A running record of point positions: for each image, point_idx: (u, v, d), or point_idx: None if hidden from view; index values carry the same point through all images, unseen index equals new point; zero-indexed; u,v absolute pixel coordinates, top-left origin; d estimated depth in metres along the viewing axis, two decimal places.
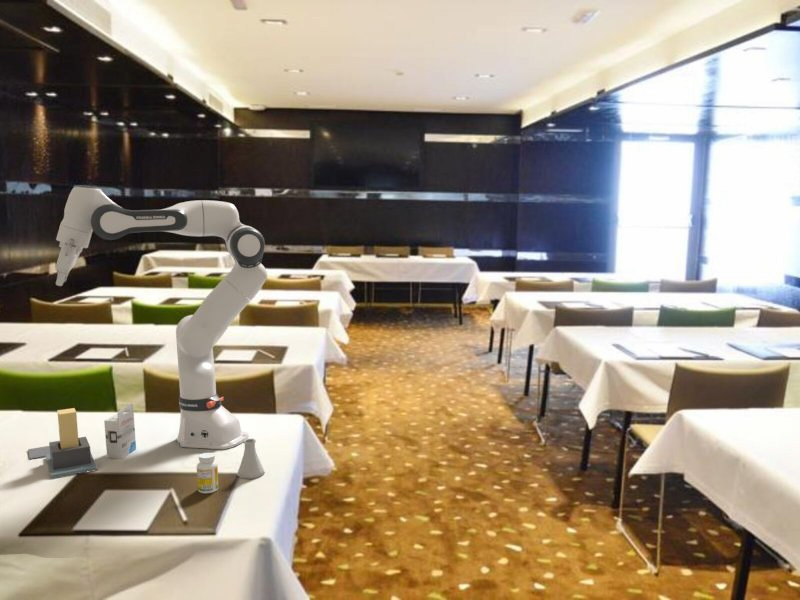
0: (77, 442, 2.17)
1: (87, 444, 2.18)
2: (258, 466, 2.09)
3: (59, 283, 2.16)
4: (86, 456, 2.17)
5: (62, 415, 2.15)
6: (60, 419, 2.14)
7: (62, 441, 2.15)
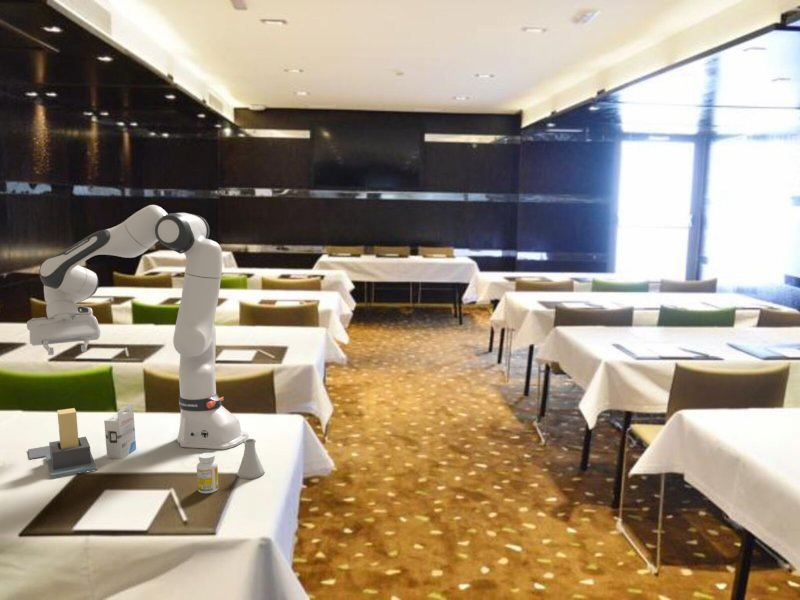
0: (77, 442, 2.17)
1: (87, 444, 2.18)
2: (258, 466, 2.09)
3: (48, 352, 2.29)
4: (86, 456, 2.17)
5: (62, 415, 2.15)
6: (60, 419, 2.14)
7: (62, 441, 2.15)
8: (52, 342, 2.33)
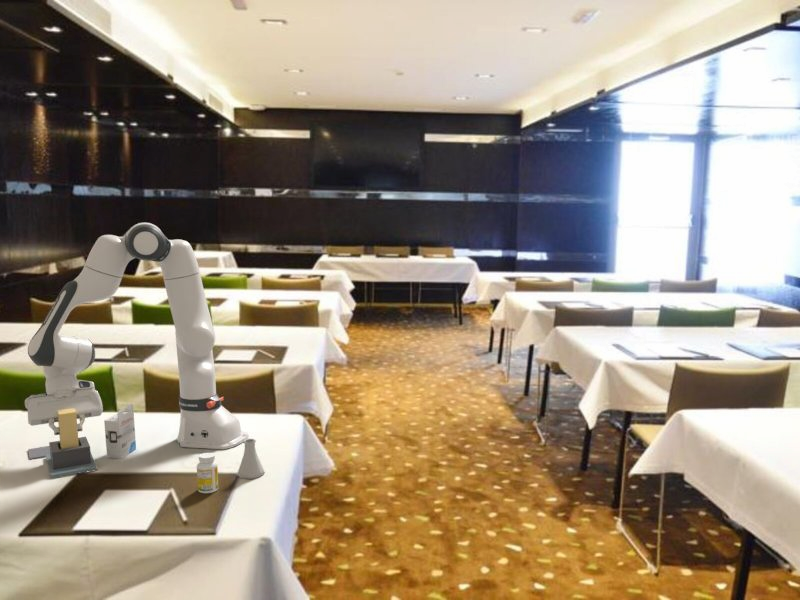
0: (77, 442, 2.17)
1: (87, 444, 2.18)
2: (258, 466, 2.09)
3: (54, 432, 2.16)
4: (86, 456, 2.17)
5: (62, 415, 2.15)
6: (60, 419, 2.14)
7: (62, 441, 2.15)
8: None
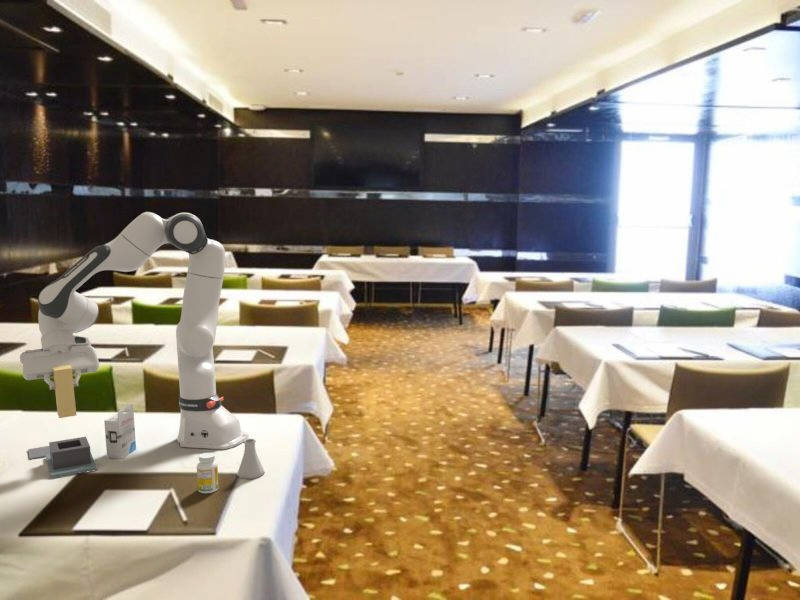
0: (73, 399, 2.16)
1: (87, 444, 2.18)
2: (258, 466, 2.09)
3: (49, 386, 2.14)
4: (86, 456, 2.17)
5: (58, 371, 2.13)
6: (56, 375, 2.13)
7: (58, 397, 2.14)
8: None
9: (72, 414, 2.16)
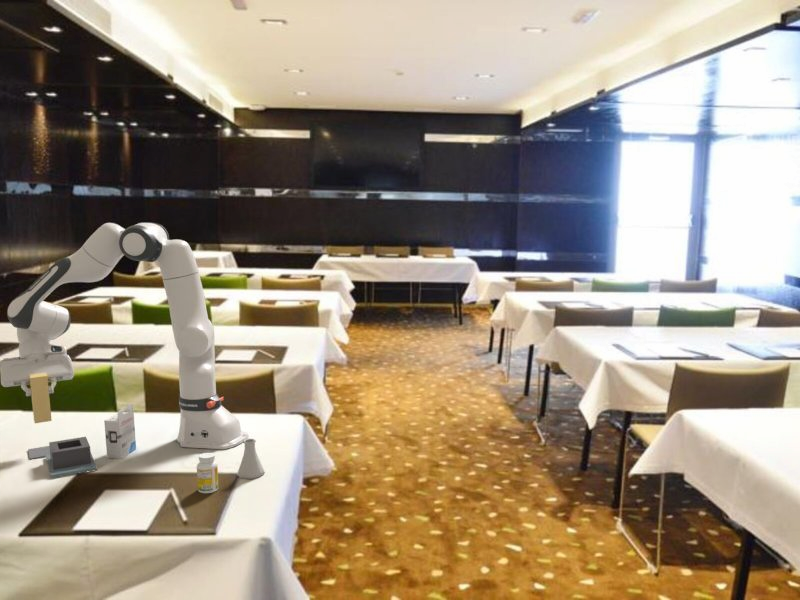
0: (49, 405, 2.26)
1: (87, 444, 2.18)
2: (258, 466, 2.09)
3: (26, 393, 2.25)
4: (86, 456, 2.17)
5: (34, 379, 2.23)
6: (32, 382, 2.23)
7: (34, 404, 2.24)
8: None
9: (47, 419, 2.27)
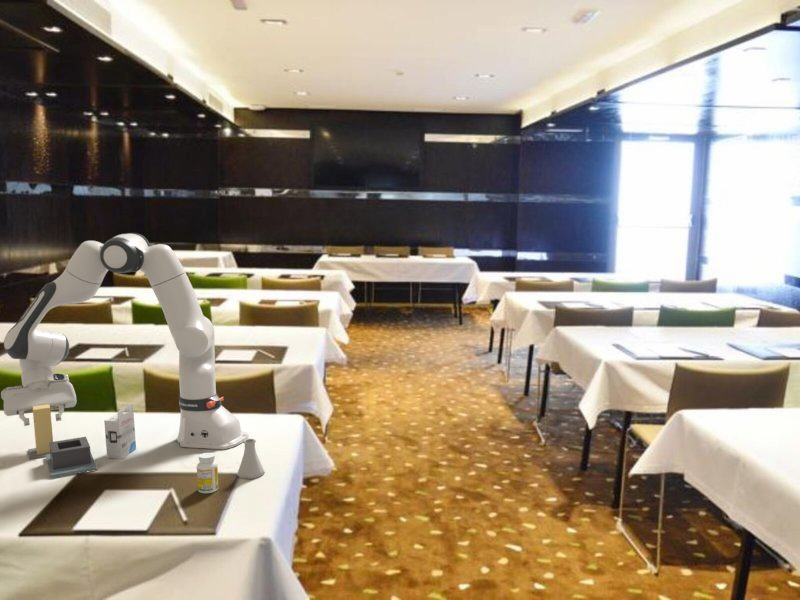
0: (51, 436, 2.28)
1: (87, 444, 2.18)
2: (258, 466, 2.09)
3: (24, 423, 2.25)
4: (86, 456, 2.17)
5: (37, 411, 2.25)
6: (34, 414, 2.25)
7: (37, 435, 2.26)
8: (27, 412, 2.29)
9: None
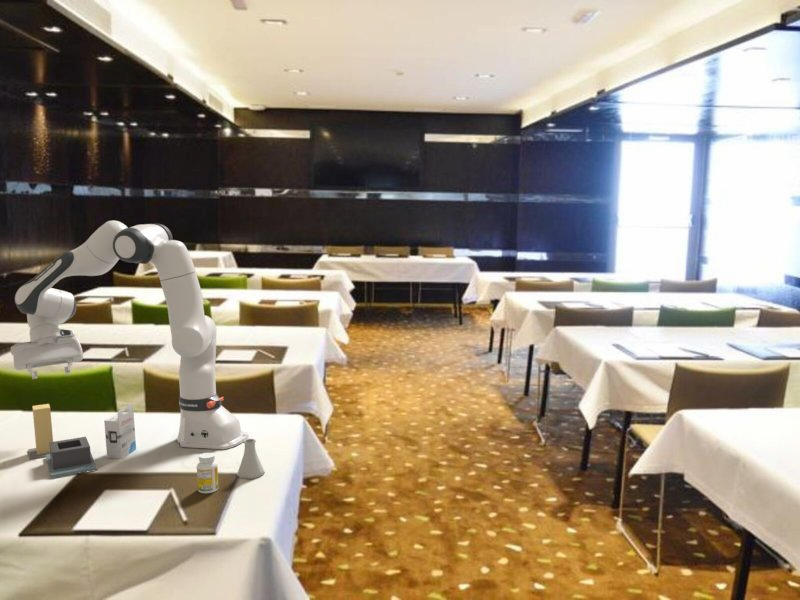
0: (51, 436, 2.28)
1: (87, 444, 2.18)
2: (258, 466, 2.09)
3: (32, 376, 2.35)
4: (86, 456, 2.17)
5: (37, 411, 2.25)
6: (34, 414, 2.25)
7: (37, 435, 2.26)
8: (36, 366, 2.39)
9: None
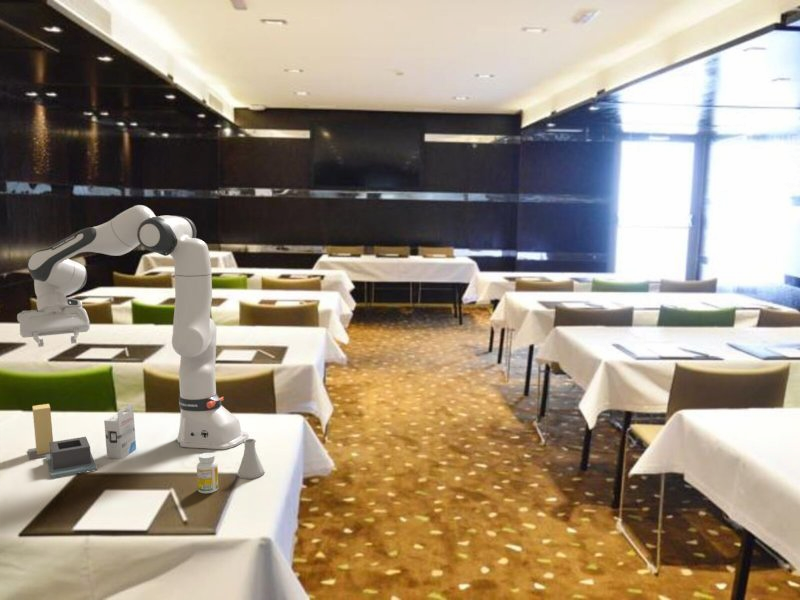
0: (51, 436, 2.28)
1: (87, 444, 2.18)
2: (258, 466, 2.09)
3: (38, 344, 2.33)
4: (86, 456, 2.17)
5: (37, 411, 2.25)
6: (34, 414, 2.25)
7: (37, 435, 2.26)
8: (42, 334, 2.37)
9: None
